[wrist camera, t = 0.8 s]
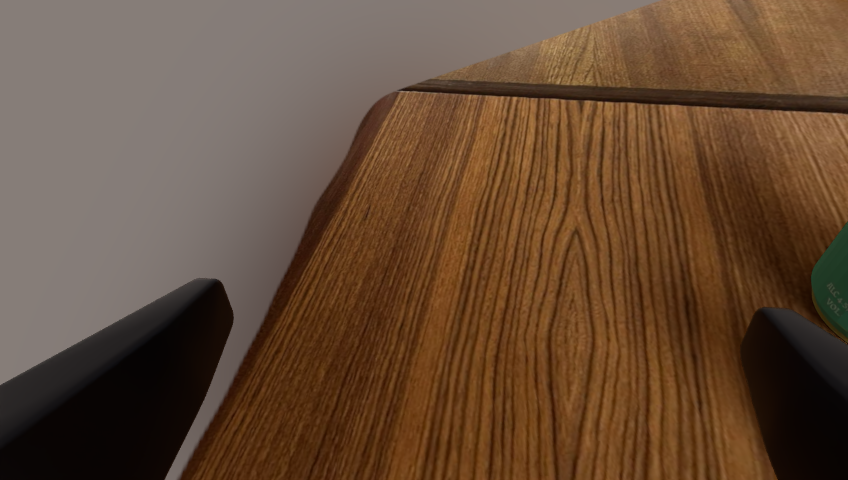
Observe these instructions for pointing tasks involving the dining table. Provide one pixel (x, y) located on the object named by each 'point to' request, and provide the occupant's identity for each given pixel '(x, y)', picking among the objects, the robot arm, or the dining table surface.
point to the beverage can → (833, 285)
